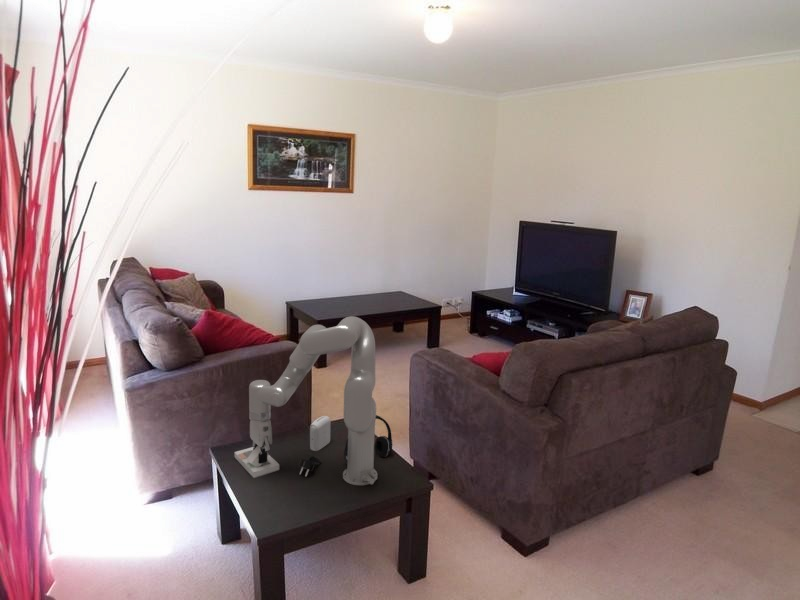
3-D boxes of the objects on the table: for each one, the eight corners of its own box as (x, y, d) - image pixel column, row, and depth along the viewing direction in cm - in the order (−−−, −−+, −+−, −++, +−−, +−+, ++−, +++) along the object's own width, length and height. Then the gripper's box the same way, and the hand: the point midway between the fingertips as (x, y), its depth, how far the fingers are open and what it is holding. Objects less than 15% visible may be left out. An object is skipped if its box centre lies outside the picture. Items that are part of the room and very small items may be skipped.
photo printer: (317, 452, 215) (317, 424, 213) (308, 450, 217) (308, 421, 215) (331, 442, 224) (332, 414, 222) (323, 440, 226) (323, 412, 223)
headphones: (384, 450, 220) (386, 408, 216) (394, 457, 214) (396, 414, 211) (341, 463, 208) (342, 419, 204) (350, 471, 203) (351, 425, 199)
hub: (279, 470, 201) (279, 463, 201) (253, 478, 195) (253, 471, 194) (259, 450, 215) (259, 444, 214) (234, 457, 209) (234, 451, 208)
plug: (258, 468, 199) (270, 452, 201) (251, 463, 197) (263, 447, 199) (253, 463, 202) (266, 448, 204) (246, 459, 200) (259, 443, 202)
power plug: (328, 463, 206) (313, 455, 196) (320, 482, 203) (305, 476, 194) (316, 459, 209) (300, 451, 199) (308, 478, 206) (292, 471, 196)
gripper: (279, 420, 193) (279, 466, 197) (260, 403, 206) (260, 448, 210) (259, 424, 189) (260, 472, 192) (241, 408, 201) (241, 453, 205)
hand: (260, 459), depth 201 cm, fingers closed on plug, 4 cm apart
